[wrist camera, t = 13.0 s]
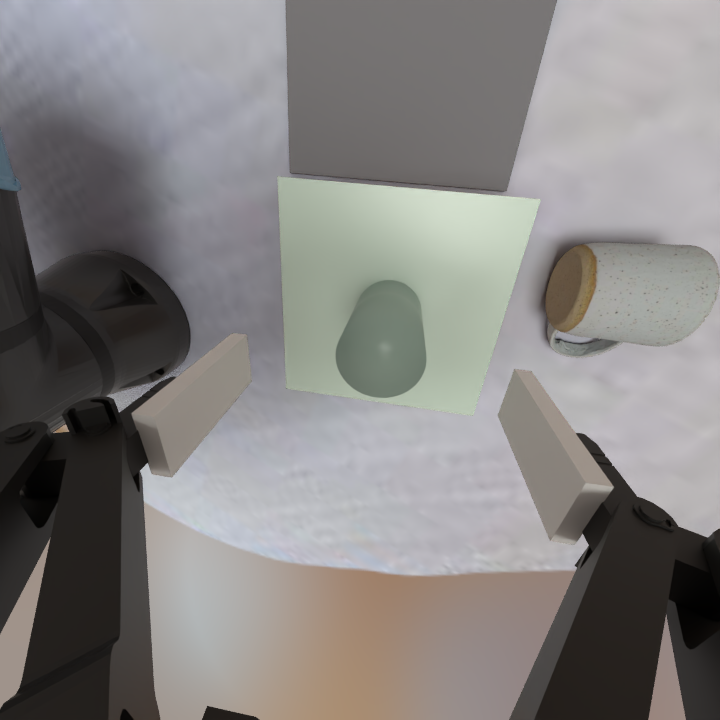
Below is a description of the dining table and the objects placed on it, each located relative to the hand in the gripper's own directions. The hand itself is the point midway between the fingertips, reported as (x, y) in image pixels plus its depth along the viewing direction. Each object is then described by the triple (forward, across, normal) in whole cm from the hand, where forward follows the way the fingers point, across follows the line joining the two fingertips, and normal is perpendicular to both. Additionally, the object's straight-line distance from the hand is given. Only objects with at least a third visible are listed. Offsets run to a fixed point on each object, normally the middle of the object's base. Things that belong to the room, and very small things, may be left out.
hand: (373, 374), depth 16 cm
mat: (+17, -1, +18) cm, 25 cm away
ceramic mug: (+17, +18, +1) cm, 25 cm away
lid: (+11, 0, 0) cm, 11 cm away
